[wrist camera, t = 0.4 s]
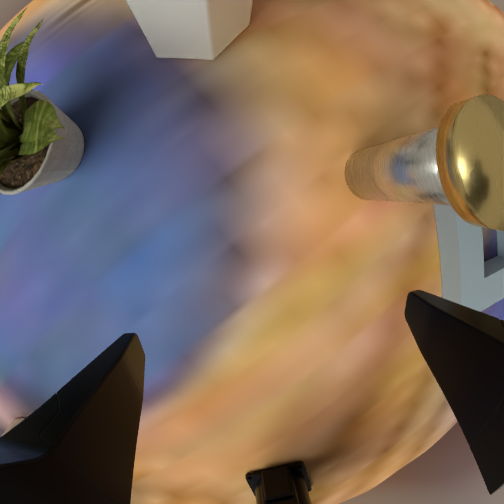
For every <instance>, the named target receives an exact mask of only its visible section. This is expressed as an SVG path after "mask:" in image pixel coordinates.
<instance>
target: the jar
mask: <svg viewBox="0 0 504 504" xmlns="http://www.w3.org/2000/svg"><path fill="white" fill-rule="evenodd" d="M126 1H127V3H128V5H129V7H130V9H131V11H132V12H133V14H134V16H135V18H136V20H137V22H138V24H139V26H140V27H141V29H142V31H143V33H144V35H145V37H146V39H147V41H148V42H149V44H150V46H151V48H152V50H153V52H154V54H155V56H156V57H157V58H186V59H204V60H214V59H215V58H216V57H217V56H218V55H219V54H220V53H221V52H222V51H223V50H224V49H225V48H226V47H227V46H228V45H229V44H230V43H231V42H232V41H233V40H234V39H235V38H236V37H237V36H238V35H239V34H240V33H241V32H242V31H243V30H245V29H246V28H247V27H248V26H249V24H250V17H251V10H252V3H253V0H126Z"/></svg>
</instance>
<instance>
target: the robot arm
mask: <svg viewBox="0 0 504 504" xmlns="http://www.w3.org/2000/svg"><path fill="white" fill-rule="evenodd" d="M405 319H406V321H407V323H408V325H409V327H410V330H411V332H412V334H413V336H414V338H415V341H416V343H417V345H418V347H419V349H420V351H421V353H422V355H423V357H424V359H425V361H426V362H427V364H428V366H429V368H430V369H431V371H432V373H433V375H434V377H435V378H436V380H437V382H438V384H439V386H440V388H441V390H442V391H443V393H444V395H445V397H446V399H447V401H448V403H449V405H450V407H451V409H452V411H453V413H454V415H455V417H456V419H457V421H458V423H459V425H460V427H461V429H462V431H463V433H464V435H465V437H466V440H467V442H468V444H469V446H470V449H471V451H472V453H473V455H474V458H475V460H476V462H477V465H478V467H479V469H480V472H481V474H482V476H483V479H484V481H485V484H486V486H487V489H488V491H489V493H490V494H493V493H494V492H496V491H497V490H498V489H500V488H501V487H502V486H504V320H499V319H498V318H495V317H493V316H490V315H487V314H485V313H482V312H479V311H477V310H474V309H471V308H469V307H466V306H463V305H460V304H458V303H455V302H452V301H449V300H447V299H444V298H441V297H438V296H436V295H433V294H430V293H427V292H424V291H422V290H415V291H411V292H409V293H408V296H407V301H406V307H405ZM144 370H145V354H144V351H143V348H142V345H141V343H140V340H139V338H138V336H137V334H136V333H125V334H123V335H122V336H121V337H119V338H118V339H117V340H116V341H115V342H114V343H112V344H111V345H110V346H109V347H108V348H107V349H106V350H104V351H103V352H102V353H101V354H100V355H99V356H97V357H96V358H95V359H94V360H93V361H92V362H91V363H89V364H88V365H87V366H86V367H85V368H84V369H83V370H81V371H80V372H79V373H78V374H77V375H76V376H75V377H73V378H72V379H71V380H70V381H69V382H68V383H67V384H66V385H64V386H63V387H62V388H61V389H60V390H59V391H58V392H57V394H54V395H53V396H52V397H51V398H50V399H49V400H48V401H46V402H45V403H44V404H43V405H42V406H41V407H39V408H38V409H37V410H36V411H34V412H33V413H32V414H31V415H29V416H28V417H27V418H25V419H24V420H23V421H21V422H20V423H19V424H17V425H16V426H15V427H13V428H12V429H11V430H9V431H8V432H7V433H5V434H4V435H3V436H1V437H0V504H130V500H131V489H132V479H133V469H134V460H135V452H136V444H137V436H138V429H139V422H140V416H141V409H142V402H143V391H144ZM245 476H246V480H247V482H248V484H249V486H250V488H251V489H252V491H253V493H254V495H255V497H256V502H257V504H311V500H310V497H309V493H308V492H309V491H311V487H310V483H309V480H308V476H307V473H306V469H305V466H304V463H303V462H296V463H292V464H288V465H284V466H280V467H276V468H271V469H267V470H262V471H257V472H252V473H248V474H246V475H245Z"/></svg>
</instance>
